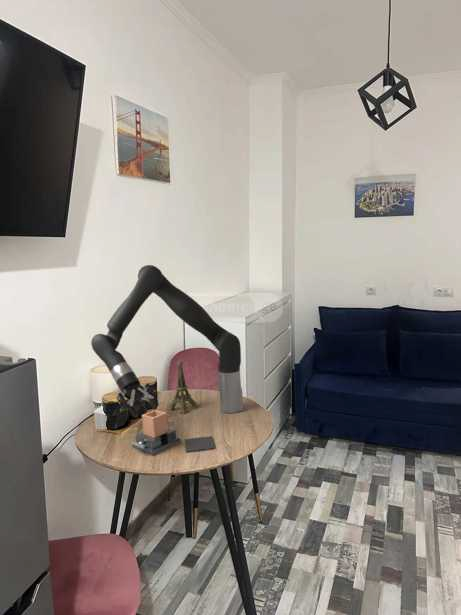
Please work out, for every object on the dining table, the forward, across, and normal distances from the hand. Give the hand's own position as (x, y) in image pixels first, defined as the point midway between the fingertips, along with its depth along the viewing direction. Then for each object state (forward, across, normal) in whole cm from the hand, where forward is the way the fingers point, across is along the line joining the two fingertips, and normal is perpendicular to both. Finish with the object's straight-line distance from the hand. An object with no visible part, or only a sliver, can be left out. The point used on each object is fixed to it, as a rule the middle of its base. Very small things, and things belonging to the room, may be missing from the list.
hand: (146, 412), depth 164 cm
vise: (+11, 0, +5) cm, 12 cm away
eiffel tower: (-2, +31, +18) cm, 36 cm away
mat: (+20, +9, -4) cm, 22 cm away
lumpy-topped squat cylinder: (-10, +3, +27) cm, 29 cm away
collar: (+8, 0, +2) cm, 8 cm away
